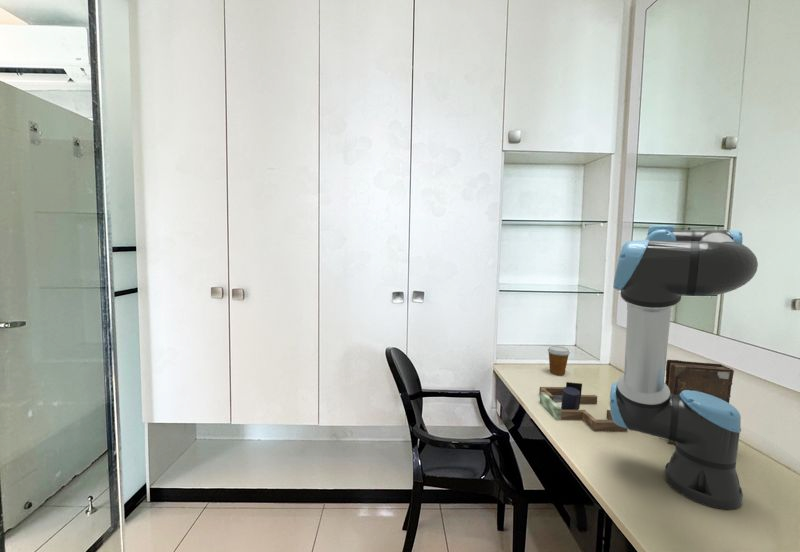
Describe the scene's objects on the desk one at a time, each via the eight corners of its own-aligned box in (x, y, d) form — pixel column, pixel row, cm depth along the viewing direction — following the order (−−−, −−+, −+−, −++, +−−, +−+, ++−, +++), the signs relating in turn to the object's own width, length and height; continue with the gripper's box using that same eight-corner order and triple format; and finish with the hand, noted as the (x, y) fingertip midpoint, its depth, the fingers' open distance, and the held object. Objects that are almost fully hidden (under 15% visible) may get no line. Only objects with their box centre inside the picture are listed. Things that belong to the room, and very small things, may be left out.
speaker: (562, 404, 138) (565, 378, 136) (579, 408, 135) (582, 383, 133) (558, 413, 132) (561, 387, 130) (576, 418, 129) (579, 392, 127)
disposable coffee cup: (549, 368, 178) (550, 344, 177) (570, 373, 173) (571, 348, 171) (543, 374, 170) (545, 348, 169) (565, 378, 165) (567, 353, 164)
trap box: (631, 431, 119) (632, 419, 119) (567, 431, 118) (568, 419, 118) (584, 394, 148) (584, 384, 148) (531, 394, 147) (532, 384, 147)
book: (717, 440, 115) (726, 363, 112) (731, 453, 108) (741, 371, 105) (657, 432, 119) (664, 358, 117) (667, 444, 112) (674, 365, 110)
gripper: (668, 271, 125) (662, 338, 127) (631, 270, 125) (625, 338, 127) (686, 273, 118) (679, 344, 120) (647, 272, 117) (640, 344, 119)
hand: (651, 341), depth 123 cm, fingers closed
